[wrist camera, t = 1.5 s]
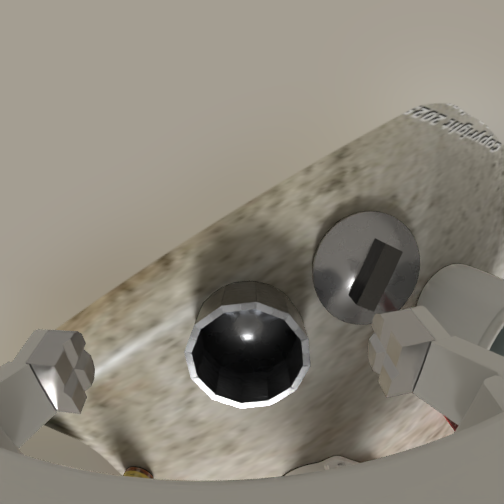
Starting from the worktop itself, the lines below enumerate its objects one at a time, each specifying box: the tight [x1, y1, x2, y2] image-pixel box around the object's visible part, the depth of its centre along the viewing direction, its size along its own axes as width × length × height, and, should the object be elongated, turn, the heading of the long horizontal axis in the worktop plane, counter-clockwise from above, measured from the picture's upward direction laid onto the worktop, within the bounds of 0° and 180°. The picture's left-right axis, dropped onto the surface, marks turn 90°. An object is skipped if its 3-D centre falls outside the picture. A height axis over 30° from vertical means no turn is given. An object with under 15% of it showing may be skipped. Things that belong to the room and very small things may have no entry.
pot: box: [184, 281, 310, 408], centre depth 39 cm, size 14×14×8 cm
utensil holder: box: [417, 264, 504, 357], centre depth 34 cm, size 15×15×18 cm
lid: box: [312, 211, 420, 324], centre depth 39 cm, size 15×15×6 cm
